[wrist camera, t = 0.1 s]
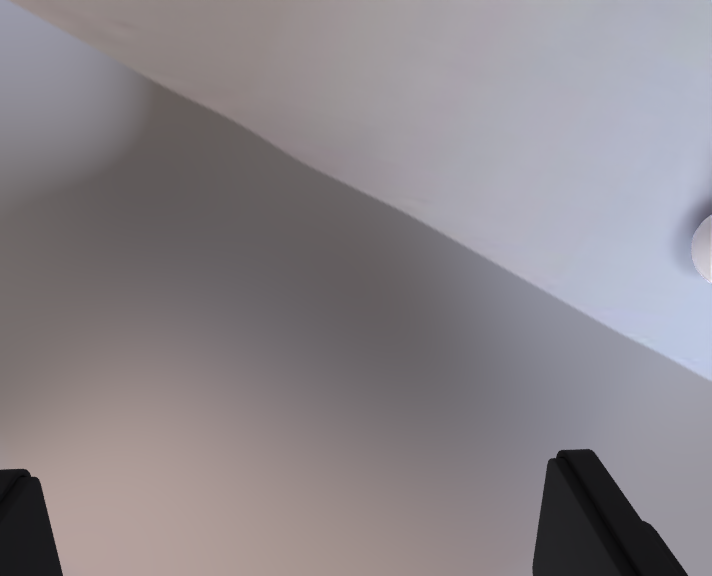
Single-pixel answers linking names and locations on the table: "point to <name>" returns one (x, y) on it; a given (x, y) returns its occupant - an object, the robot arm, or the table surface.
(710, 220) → the egg
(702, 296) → the table surface
